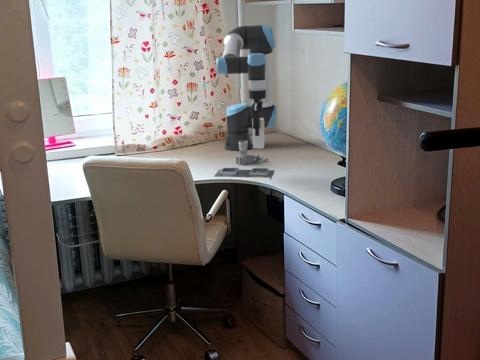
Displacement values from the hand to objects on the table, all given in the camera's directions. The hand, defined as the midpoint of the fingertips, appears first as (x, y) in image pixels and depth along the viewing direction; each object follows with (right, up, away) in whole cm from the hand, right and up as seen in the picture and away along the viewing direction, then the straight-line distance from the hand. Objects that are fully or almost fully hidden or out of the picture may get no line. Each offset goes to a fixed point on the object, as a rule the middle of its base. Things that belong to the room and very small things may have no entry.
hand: (258, 141), depth 286 cm
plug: (0, -3, +1) cm, 3 cm away
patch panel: (-6, -15, +6) cm, 17 cm away
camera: (-3, -10, +25) cm, 27 cm away
